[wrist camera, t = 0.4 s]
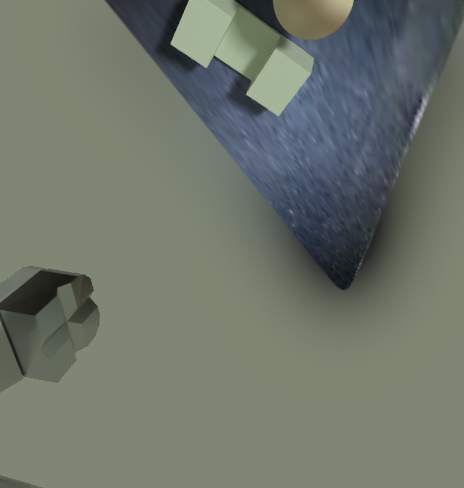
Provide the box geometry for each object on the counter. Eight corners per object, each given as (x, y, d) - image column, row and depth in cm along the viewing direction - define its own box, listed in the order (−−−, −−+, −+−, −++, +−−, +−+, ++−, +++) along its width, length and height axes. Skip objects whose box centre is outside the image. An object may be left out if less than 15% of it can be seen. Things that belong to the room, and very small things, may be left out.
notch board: (204, -22, 48) (193, -10, 45) (314, 58, 52) (310, 73, 49) (181, 30, 53) (170, 44, 50) (283, 99, 57) (278, 116, 54)
